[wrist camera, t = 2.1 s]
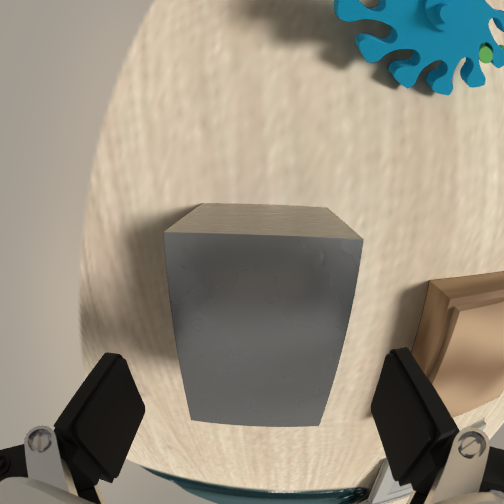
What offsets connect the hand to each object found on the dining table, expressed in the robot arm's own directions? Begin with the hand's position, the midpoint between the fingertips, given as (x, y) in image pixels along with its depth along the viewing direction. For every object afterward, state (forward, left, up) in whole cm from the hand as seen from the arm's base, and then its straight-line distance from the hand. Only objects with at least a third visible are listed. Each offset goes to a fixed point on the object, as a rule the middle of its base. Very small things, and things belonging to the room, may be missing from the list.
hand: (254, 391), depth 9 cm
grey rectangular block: (-1, 0, -7) cm, 7 cm away
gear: (-15, +9, -7) cm, 19 cm away
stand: (+5, +16, -6) cm, 18 cm away
